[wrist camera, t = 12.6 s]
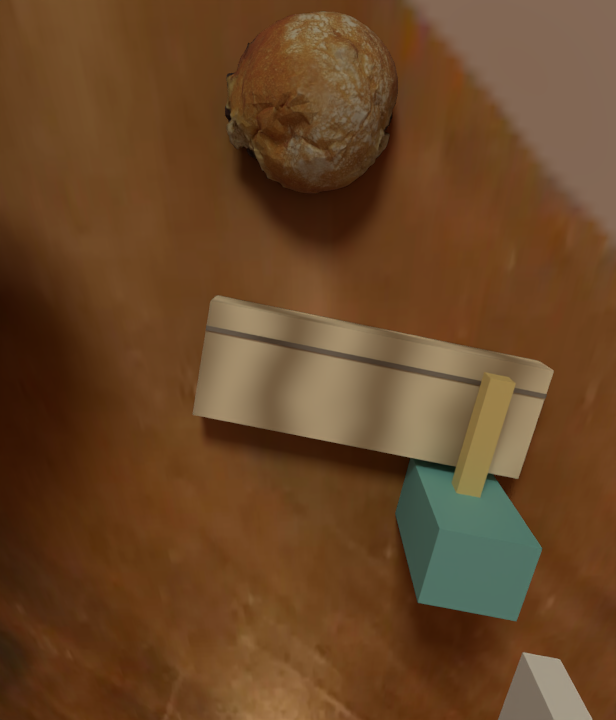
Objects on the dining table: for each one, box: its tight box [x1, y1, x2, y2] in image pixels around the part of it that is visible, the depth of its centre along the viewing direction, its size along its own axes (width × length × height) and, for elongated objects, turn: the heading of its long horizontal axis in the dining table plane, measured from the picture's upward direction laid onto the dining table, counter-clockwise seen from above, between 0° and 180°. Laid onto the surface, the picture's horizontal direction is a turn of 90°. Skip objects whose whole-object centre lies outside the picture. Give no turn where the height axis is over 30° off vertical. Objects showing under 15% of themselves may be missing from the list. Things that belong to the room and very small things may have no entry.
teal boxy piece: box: [395, 372, 542, 621], centre depth 36 cm, size 6×13×10 cm, turn 168°
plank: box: [193, 295, 554, 479], centre depth 38 cm, size 23×8×3 cm, turn 78°
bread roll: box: [225, 11, 398, 193], centre depth 33 cm, size 10×10×8 cm
